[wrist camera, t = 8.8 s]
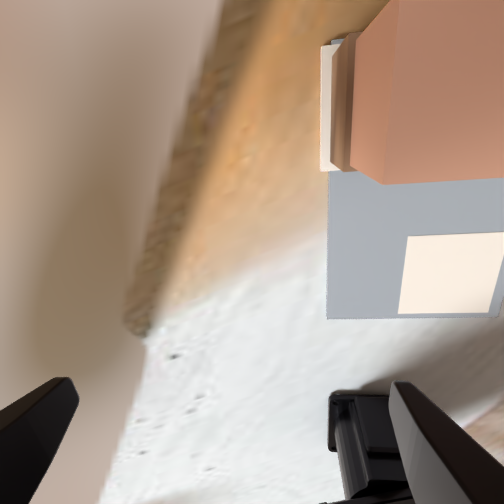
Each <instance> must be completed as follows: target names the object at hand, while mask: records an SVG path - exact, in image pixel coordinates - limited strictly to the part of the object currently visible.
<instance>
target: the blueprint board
mask: <svg viewBox="0 0 504 504" xmlns="http://www.w3.org/2000/svg"><path fill="white" fill-rule="evenodd" d="M344 39H345V38H344ZM344 39H336V40H332V41H331V45H326V46H321V48H320V171H321V172H323V171H329V180H328V243H327V305H326V317H327V319H382V318H462V317H498V315H499V311H500V308H501V305H502V301H503V298H504V178H490V179H474V180H458V181H441V182H425V183H409V184H393V185H382V184H380V183H378V182H376V181H375V180H373V179H371V178H370V177H368V176H366V175H365V174H363V173H361V172H360V171H354V172H343V171H341V170H340V169H339V168H337V167H336V166H335V165H333V164H332V163H331V162H330V131H331V74H332V56H333V54H334V53H335V52H336V50H337V49H338V47H339V46H340V45H341V43H342V42H343V40H344Z"/></svg>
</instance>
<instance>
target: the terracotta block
mask: <svg viewBox="0 0 504 504" xmlns="http://www.w3.org/2000/svg"><path fill="white" fill-rule="evenodd" d="M350 166H351V167H353V168H355V169H356V170H358V171H360V172H361V173H363V174H365V175H366V176H368V177H370V178H371V179H373V180H375V181H376V182H378V183H380V184H382V185H393V184H409V183H425V182H441V181H458V180H474V179H490V178H504V0H390V1H389V2H388V3H387V4H386V6H385V7H384V8H383V9H382V10H381V12H380V13H379V14H378V15H377V16H376V17H375V19H374V20H373V21H372V22H371V23H370V24H369V26H368V27H367V28H366V29H365V30H364V31H363V33H362V34H361V35H360V36H359V37H358V38H357V40H356V48H355V69H354V90H353V111H352V132H351V153H350Z"/></svg>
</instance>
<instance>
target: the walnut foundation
mask: <svg viewBox="0 0 504 504" xmlns="http://www.w3.org/2000/svg"><path fill="white" fill-rule="evenodd" d="M362 33H363V32H355V33H348V35H347V36H346V38H345V39H344V40H343V42H342V43H341V45H340V46H339V47H338V49H337V50H336V52H335V53H334V54H333V56H332V74H331V131H330V162H331V163H332V164H333V165H335V166H336V167H337V168H339V169H340V170H341V171H343V172H354V171H358V170H356V169H355V168H353V167H351V166H350V153H351V132H352V111H353V90H354V69H355V48H356V40H357V38H358V37H359V36H360V35H361V34H362Z"/></svg>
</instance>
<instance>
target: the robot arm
mask: <svg viewBox="0 0 504 504" xmlns="http://www.w3.org/2000/svg"><path fill="white" fill-rule="evenodd" d="M78 405H79V395H78V393H77V390H76V388H75V386H74V384H73V381H72V379H71V378H69V377H55V378H53V379H51V380H49V381H48V382H46V383H44V384H43V385H41V386H39V387H38V388H36V389H35V390H33V391H31V392H30V393H28V394H26V395H25V396H23V397H22V398H20V399H18V400H17V401H15V402H14V403H12V404H11V405H9V406H7V407H6V408H4V409H2V410H1V411H0V504H29V502H30V501H31V499H32V497H33V495H34V493H35V492H36V490H37V488H38V486H39V484H40V483H41V481H42V479H43V477H44V476H45V474H46V472H47V470H48V468H49V466H50V465H51V463H52V461H53V459H54V457H55V455H56V453H57V450H58V448H59V446H60V444H61V442H62V440H63V437H64V435H65V433H66V431H67V429H68V426H69V424H70V422H71V420H72V418H73V416H74V413H75V411H76V409H77V407H78ZM327 444H328V449H329V450H330V451H331V452H338V458H339V464H340V470H341V476H342V482H343V488H344V494H345V500H343V501H338V502H333V503H328V504H504V466H503V465H502V464H500V463H499V462H498V461H497V460H496V459H495V458H494V457H493V456H492V455H491V454H489V453H488V452H487V451H486V450H485V449H484V448H483V447H482V446H481V445H480V444H478V443H477V442H476V441H475V440H474V439H473V438H472V437H471V436H470V435H469V434H467V433H466V432H465V431H464V430H463V429H462V428H461V427H460V426H459V425H458V424H456V423H455V422H454V421H453V420H452V419H451V418H450V417H449V416H448V415H447V414H445V413H444V412H443V411H442V410H441V409H440V408H439V407H438V406H437V405H435V404H434V403H433V402H432V401H431V400H430V399H429V398H428V397H427V396H426V395H424V394H423V393H422V392H421V391H420V390H419V389H418V388H417V387H416V386H415V385H413V384H412V383H411V382H409V381H393V382H392V384H391V389H390V396H377V395H331V396H330V397H329V399H328V442H327ZM319 504H327V502H324V503H319Z"/></svg>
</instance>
